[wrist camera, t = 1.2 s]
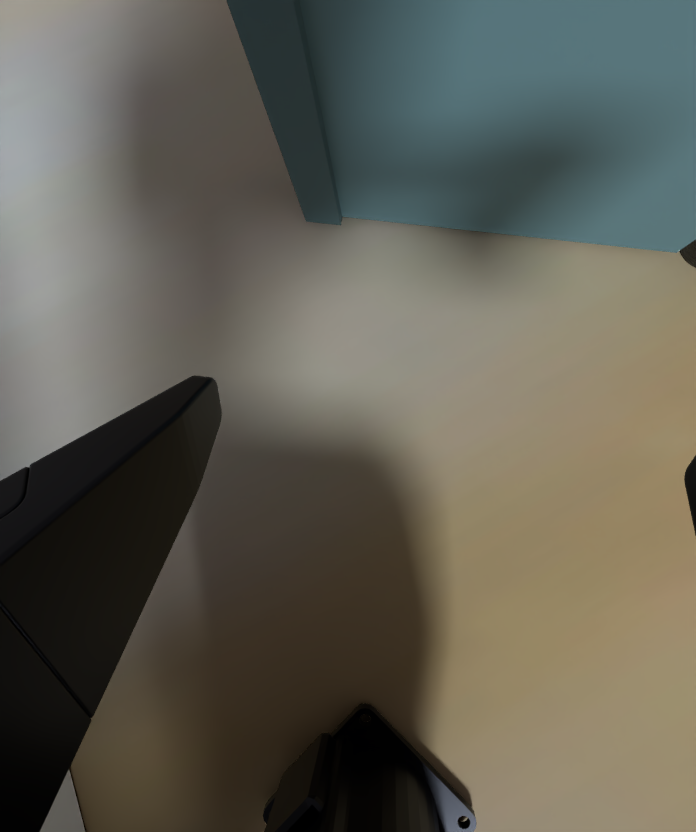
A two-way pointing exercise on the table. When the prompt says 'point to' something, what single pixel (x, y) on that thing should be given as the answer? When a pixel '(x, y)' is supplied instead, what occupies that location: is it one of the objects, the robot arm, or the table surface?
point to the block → (64, 810)
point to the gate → (486, 113)
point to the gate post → (690, 253)
